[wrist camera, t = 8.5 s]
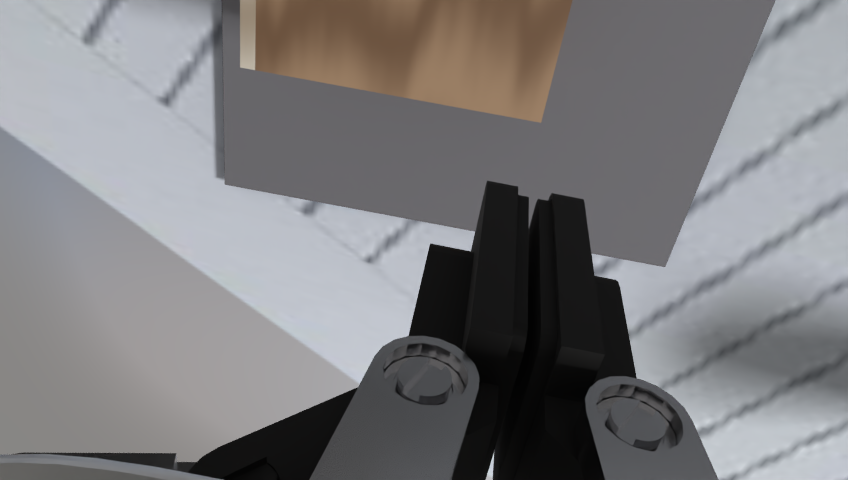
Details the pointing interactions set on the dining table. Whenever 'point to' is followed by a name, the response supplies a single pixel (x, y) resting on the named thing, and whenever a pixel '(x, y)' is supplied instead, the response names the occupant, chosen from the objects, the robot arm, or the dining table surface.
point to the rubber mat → (515, 127)
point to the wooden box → (414, 48)
